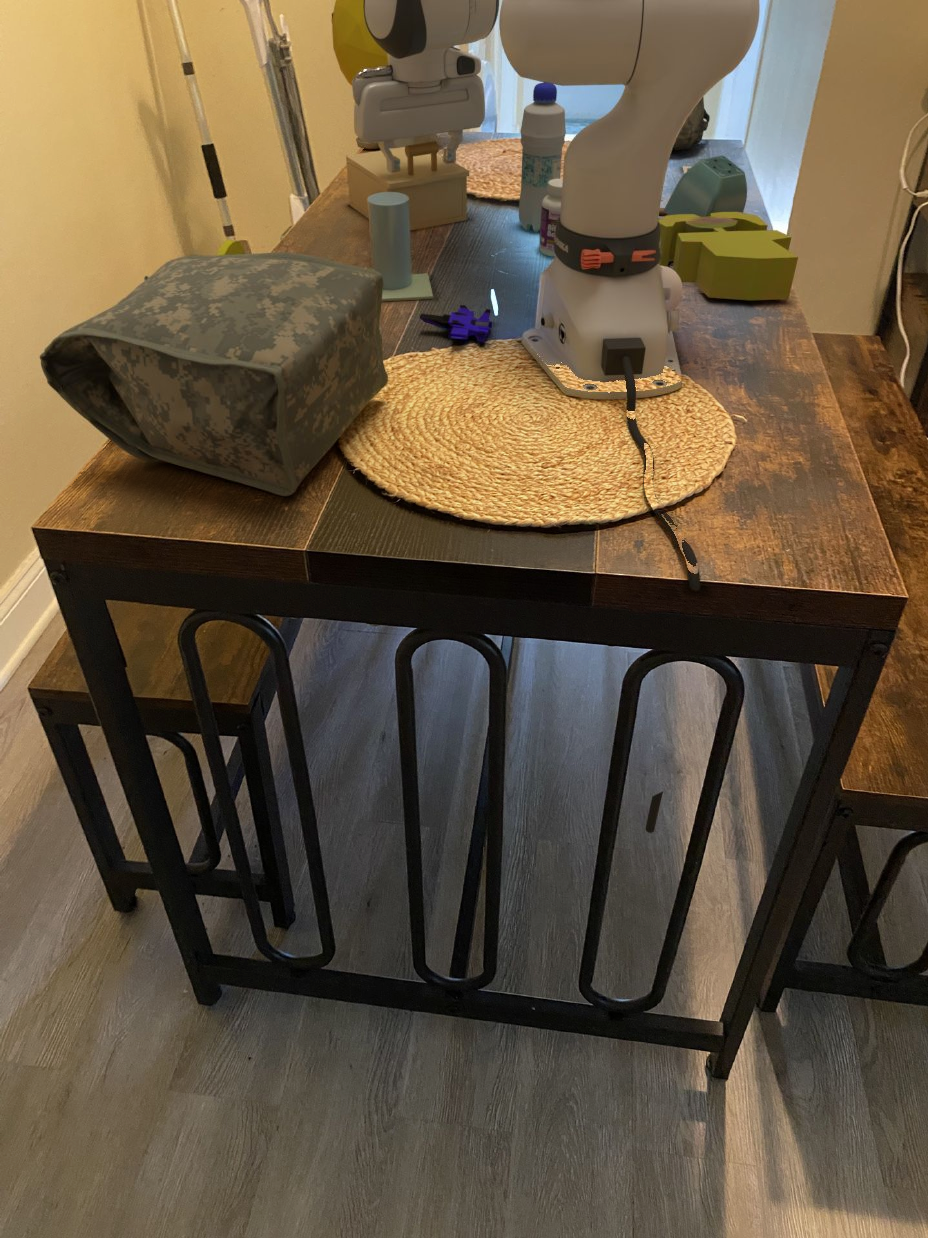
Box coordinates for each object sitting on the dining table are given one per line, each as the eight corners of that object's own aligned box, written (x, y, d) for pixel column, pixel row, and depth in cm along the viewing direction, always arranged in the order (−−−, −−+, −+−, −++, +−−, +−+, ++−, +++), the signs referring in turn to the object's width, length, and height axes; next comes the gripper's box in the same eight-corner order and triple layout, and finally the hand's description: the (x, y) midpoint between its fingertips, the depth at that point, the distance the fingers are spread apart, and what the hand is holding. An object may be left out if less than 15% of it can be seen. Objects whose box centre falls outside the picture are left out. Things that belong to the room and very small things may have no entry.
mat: (433, 298, 123) (433, 295, 123) (358, 302, 122) (358, 299, 122) (428, 276, 129) (427, 273, 129) (356, 279, 128) (356, 276, 128)
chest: (466, 219, 146) (466, 174, 141) (389, 234, 141) (387, 187, 137) (423, 192, 156) (421, 149, 152) (349, 205, 151) (346, 161, 147)
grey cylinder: (418, 284, 125) (415, 200, 118) (382, 292, 124) (377, 207, 116) (396, 266, 130) (392, 185, 123) (361, 273, 128) (355, 191, 121)
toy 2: (644, 256, 135) (694, 307, 120) (650, 215, 131) (702, 262, 116) (746, 250, 137) (807, 299, 122) (754, 210, 133) (818, 255, 118)
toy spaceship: (495, 305, 117) (493, 321, 118) (426, 297, 117) (425, 314, 119) (486, 339, 109) (485, 356, 111) (413, 330, 110) (412, 347, 111)
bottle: (556, 235, 141) (566, 88, 127) (513, 232, 142) (518, 86, 128) (562, 221, 146) (571, 77, 132) (520, 218, 147) (525, 75, 133)
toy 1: (476, 125, 190) (480, -53, 170) (474, 159, 172) (478, -35, 152) (347, 122, 190) (336, -57, 170) (331, 156, 172) (317, -39, 152)
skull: (737, 79, 162) (674, 12, 168) (651, 143, 164) (593, 74, 171) (740, 153, 180) (683, 90, 186) (663, 209, 183) (609, 145, 189)
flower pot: (764, 176, 135) (738, 232, 142) (725, 145, 138) (702, 201, 146) (722, 184, 131) (698, 241, 138) (683, 152, 135) (661, 209, 142)
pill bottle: (545, 259, 133) (549, 189, 127) (534, 246, 137) (537, 178, 131) (580, 255, 134) (586, 186, 128) (568, 243, 138) (573, 174, 132)
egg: (683, 282, 120) (689, 257, 112) (675, 328, 119) (680, 305, 112) (637, 277, 120) (639, 251, 113) (629, 322, 120) (630, 299, 113)
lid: (469, 175, 141) (469, 141, 138) (389, 189, 136) (387, 153, 133) (421, 149, 152) (420, 116, 148) (346, 160, 147) (343, 127, 144)
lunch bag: (390, 400, 103) (179, 349, 109) (386, 259, 91) (151, 211, 97) (295, 517, 88) (57, 450, 94) (276, 366, 76) (7, 302, 82)
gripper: (360, 73, 124) (367, 182, 133) (491, 58, 131) (489, 162, 141) (342, 65, 128) (350, 170, 137) (469, 50, 136) (469, 152, 145)
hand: (421, 166), depth 139 cm, fingers open, 8 cm apart
